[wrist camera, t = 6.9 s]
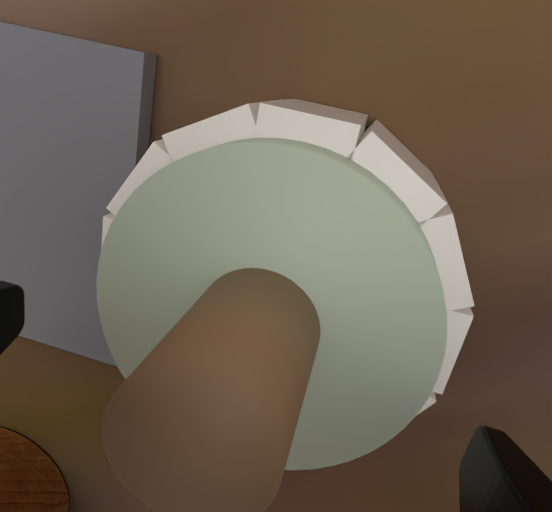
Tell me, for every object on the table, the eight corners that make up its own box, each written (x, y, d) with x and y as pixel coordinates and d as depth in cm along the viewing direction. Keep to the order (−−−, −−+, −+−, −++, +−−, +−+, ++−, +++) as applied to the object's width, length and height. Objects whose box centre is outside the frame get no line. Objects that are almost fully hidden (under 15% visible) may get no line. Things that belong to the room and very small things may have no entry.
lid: (493, 183, 10) (598, 279, 5) (387, 473, 12) (387, 713, 8) (133, 104, 11) (-74, 117, 6) (114, 388, 14) (-34, 549, 9)
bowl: (493, 141, 13) (535, 163, 9) (397, 405, 16) (400, 498, 13) (183, 74, 14) (111, 69, 10) (154, 332, 18) (93, 396, 14)
